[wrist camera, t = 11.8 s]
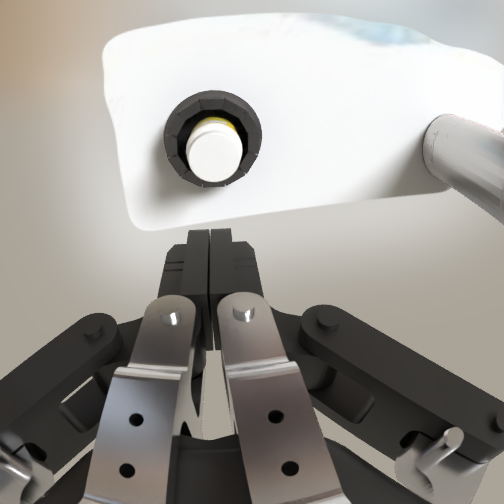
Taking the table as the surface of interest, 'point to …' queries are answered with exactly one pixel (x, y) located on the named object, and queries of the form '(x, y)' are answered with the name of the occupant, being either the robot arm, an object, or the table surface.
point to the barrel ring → (204, 107)
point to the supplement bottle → (214, 149)
